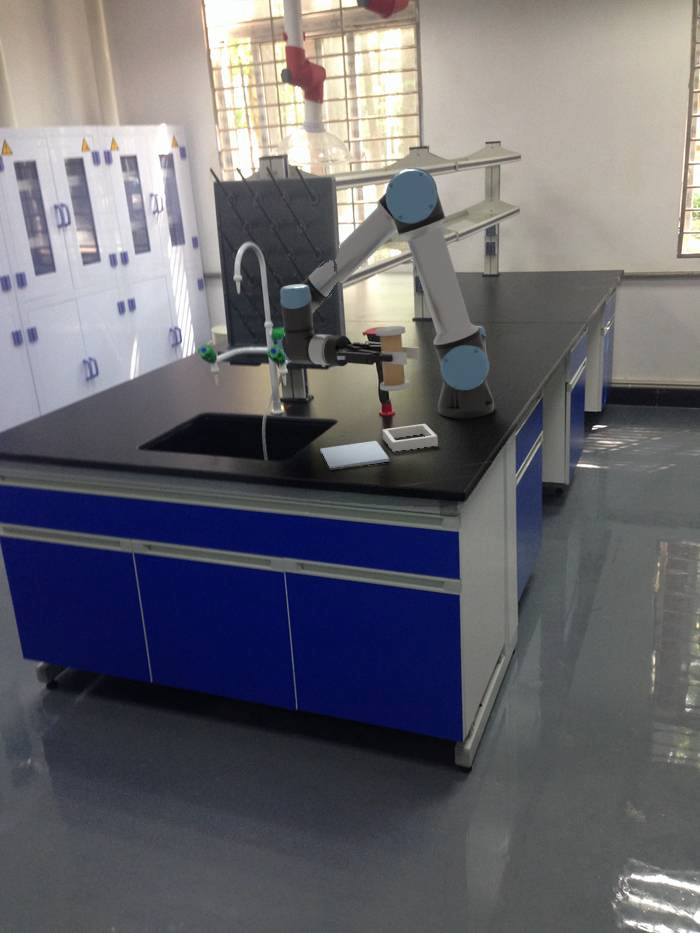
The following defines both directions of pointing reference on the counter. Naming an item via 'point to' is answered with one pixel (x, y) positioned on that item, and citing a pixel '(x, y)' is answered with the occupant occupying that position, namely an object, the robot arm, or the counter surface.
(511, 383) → the counter surface
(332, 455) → the pad
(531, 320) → the counter surface
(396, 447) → the collar
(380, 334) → the spool
